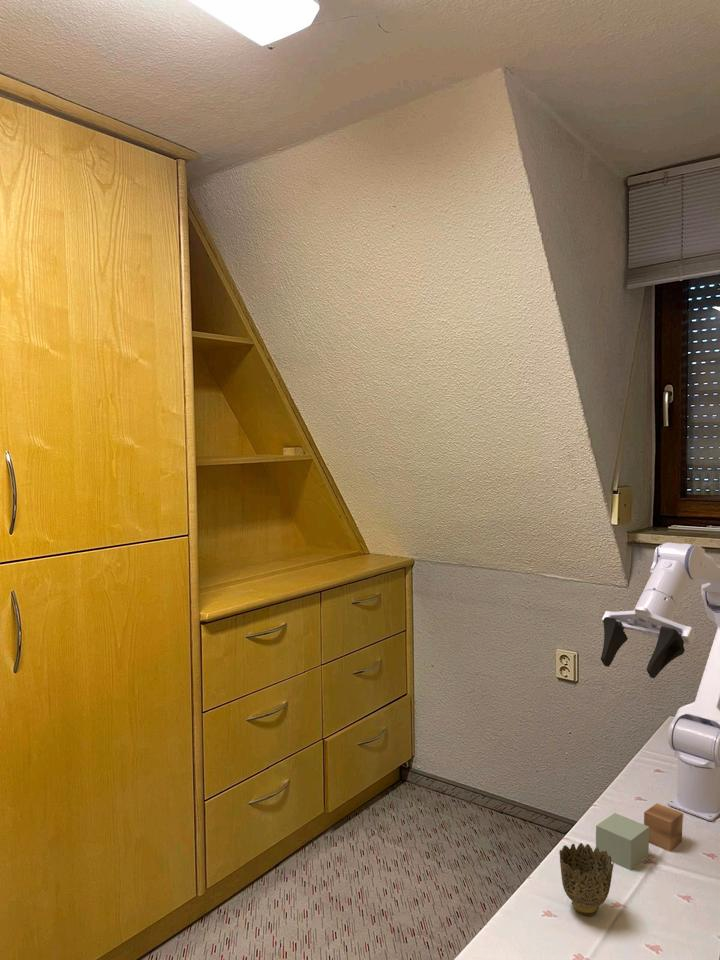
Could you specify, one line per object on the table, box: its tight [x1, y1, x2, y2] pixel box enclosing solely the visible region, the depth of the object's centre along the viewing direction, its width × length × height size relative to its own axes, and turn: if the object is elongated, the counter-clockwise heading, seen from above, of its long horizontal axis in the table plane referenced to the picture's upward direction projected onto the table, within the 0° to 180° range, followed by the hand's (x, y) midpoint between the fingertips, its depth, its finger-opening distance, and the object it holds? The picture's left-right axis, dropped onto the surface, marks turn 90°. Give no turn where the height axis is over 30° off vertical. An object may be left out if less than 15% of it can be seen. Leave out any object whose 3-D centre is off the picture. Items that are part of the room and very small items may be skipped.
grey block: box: [595, 812, 650, 871], centre depth 120 cm, size 6×6×5 cm
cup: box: [559, 842, 615, 917], centre depth 106 cm, size 8×7×8 cm
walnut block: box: [643, 803, 684, 853], centre depth 125 cm, size 4×4×5 cm
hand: (626, 668), depth 116 cm, fingers open, 7 cm apart
